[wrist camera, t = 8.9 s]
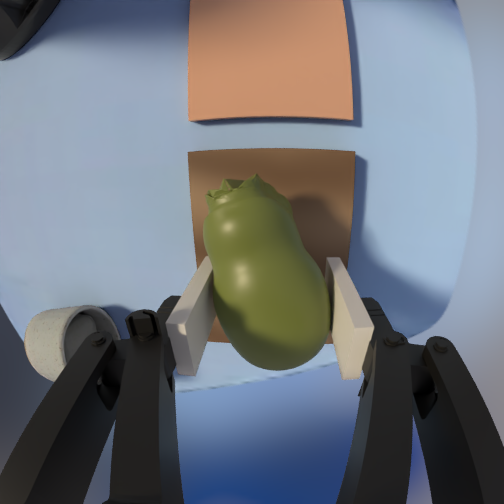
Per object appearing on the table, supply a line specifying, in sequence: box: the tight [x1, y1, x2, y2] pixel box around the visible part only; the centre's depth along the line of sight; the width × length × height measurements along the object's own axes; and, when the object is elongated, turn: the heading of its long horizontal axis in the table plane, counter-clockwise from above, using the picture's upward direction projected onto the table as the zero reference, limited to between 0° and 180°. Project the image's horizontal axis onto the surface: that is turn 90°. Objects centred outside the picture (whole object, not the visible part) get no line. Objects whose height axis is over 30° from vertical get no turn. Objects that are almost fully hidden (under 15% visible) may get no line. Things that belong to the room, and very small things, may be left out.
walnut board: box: [188, 148, 355, 344], centre depth 18 cm, size 14×10×1 cm
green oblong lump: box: [203, 173, 331, 371], centre depth 14 cm, size 6×5×10 cm
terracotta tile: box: [188, 0, 353, 122], centre depth 13 cm, size 14×10×1 cm
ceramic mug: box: [24, 305, 121, 382], centre depth 20 cm, size 11×8×8 cm
